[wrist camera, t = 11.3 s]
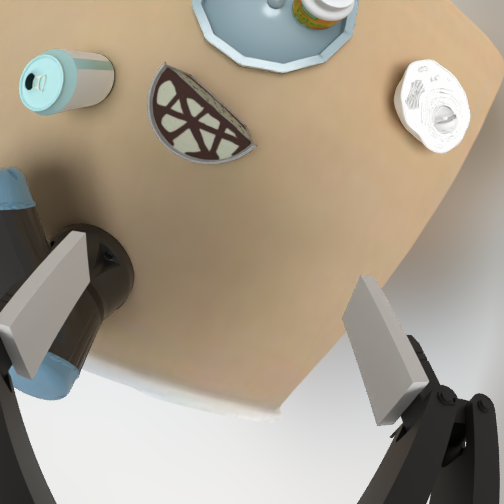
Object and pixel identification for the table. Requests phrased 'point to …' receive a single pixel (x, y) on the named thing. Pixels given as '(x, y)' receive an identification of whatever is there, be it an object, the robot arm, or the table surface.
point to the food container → (194, 120)
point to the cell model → (432, 105)
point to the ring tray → (268, 34)
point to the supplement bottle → (320, 12)
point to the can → (65, 81)
